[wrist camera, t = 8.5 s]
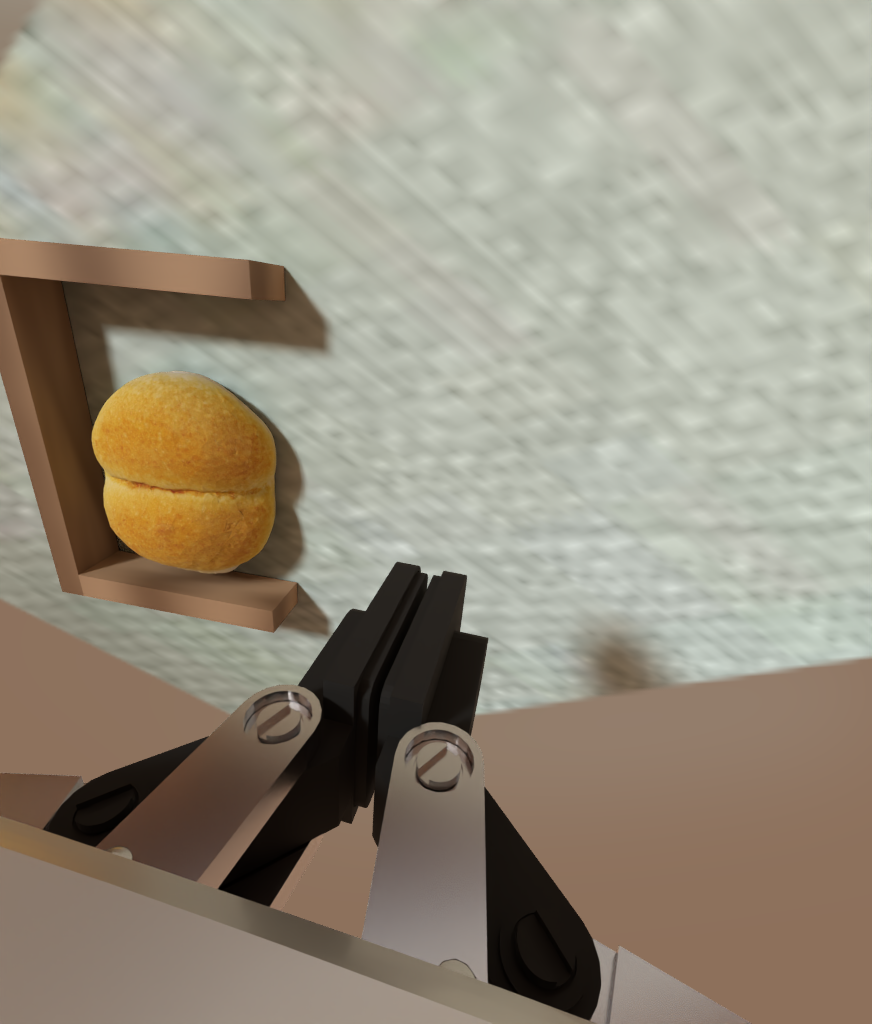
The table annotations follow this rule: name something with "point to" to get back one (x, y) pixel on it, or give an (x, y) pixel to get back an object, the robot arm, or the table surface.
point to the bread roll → (186, 472)
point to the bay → (68, 429)
